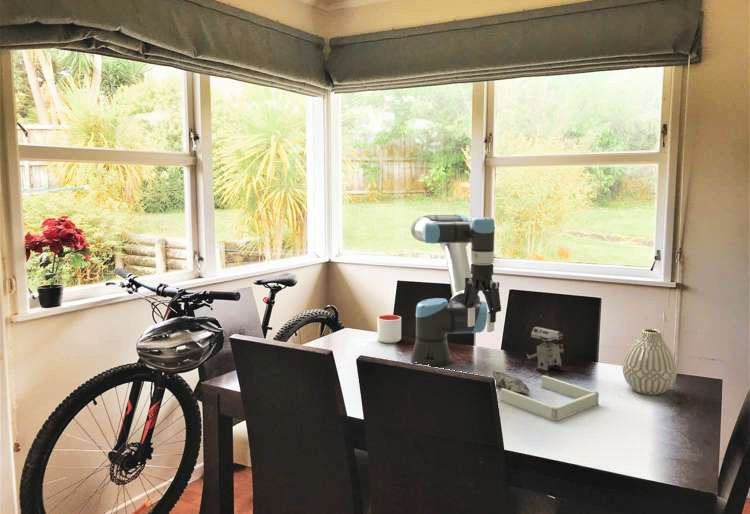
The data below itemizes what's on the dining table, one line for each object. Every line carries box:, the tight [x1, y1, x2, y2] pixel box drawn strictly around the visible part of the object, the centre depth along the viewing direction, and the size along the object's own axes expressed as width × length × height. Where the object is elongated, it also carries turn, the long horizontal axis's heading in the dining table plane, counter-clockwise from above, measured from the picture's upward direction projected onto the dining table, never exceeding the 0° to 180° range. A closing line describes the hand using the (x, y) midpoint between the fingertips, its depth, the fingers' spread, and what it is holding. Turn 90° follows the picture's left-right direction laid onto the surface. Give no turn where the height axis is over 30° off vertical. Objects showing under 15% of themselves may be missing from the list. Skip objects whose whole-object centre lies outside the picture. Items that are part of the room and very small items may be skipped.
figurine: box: [523, 326, 565, 375], centre depth 216 cm, size 9×12×15 cm
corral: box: [499, 374, 600, 422], centre depth 186 cm, size 20×21×4 cm
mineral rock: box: [492, 370, 530, 394], centre depth 198 cm, size 15×8×4 cm, turn 15°
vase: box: [622, 328, 678, 396], centre depth 194 cm, size 16×16×20 cm
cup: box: [377, 314, 402, 344], centre depth 255 cm, size 10×10×10 cm
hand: (480, 328), depth 207 cm, fingers open, 8 cm apart
